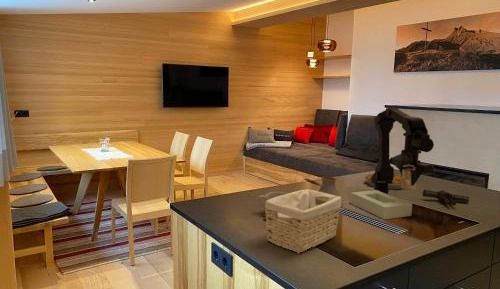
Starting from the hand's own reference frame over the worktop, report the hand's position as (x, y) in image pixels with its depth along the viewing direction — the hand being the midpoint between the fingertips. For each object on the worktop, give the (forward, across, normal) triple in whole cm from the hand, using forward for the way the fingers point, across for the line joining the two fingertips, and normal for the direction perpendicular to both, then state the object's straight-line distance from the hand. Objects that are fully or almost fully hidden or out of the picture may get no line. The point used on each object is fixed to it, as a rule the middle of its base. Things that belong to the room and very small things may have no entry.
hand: (408, 184), depth 155 cm
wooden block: (+2, 0, 0) cm, 2 cm away
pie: (+13, -38, +24) cm, 46 cm away
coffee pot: (+12, -14, -34) cm, 39 cm away
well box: (+12, -6, -9) cm, 16 cm away
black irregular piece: (+12, 0, +25) cm, 28 cm away
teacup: (+12, -16, -55) cm, 59 cm away
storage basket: (+12, +11, -58) cm, 60 cm away
